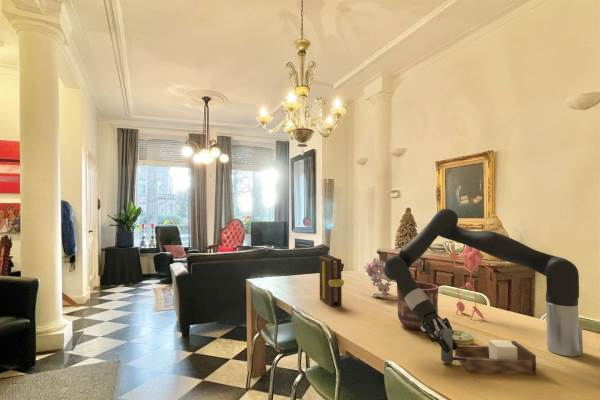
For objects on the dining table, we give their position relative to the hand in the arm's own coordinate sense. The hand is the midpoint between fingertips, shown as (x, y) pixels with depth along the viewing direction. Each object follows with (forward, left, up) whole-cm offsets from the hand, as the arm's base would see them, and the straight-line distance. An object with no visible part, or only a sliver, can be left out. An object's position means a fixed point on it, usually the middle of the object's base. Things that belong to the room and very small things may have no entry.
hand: (452, 350), depth 112 cm
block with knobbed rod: (-8, -2, -4) cm, 9 cm away
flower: (+10, -98, -5) cm, 98 cm away
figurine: (-29, -59, -5) cm, 66 cm away
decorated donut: (-9, -22, -6) cm, 24 cm away
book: (+41, -78, -5) cm, 88 cm away
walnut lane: (-13, -2, -5) cm, 14 cm away
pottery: (+2, -40, -5) cm, 40 cm away
